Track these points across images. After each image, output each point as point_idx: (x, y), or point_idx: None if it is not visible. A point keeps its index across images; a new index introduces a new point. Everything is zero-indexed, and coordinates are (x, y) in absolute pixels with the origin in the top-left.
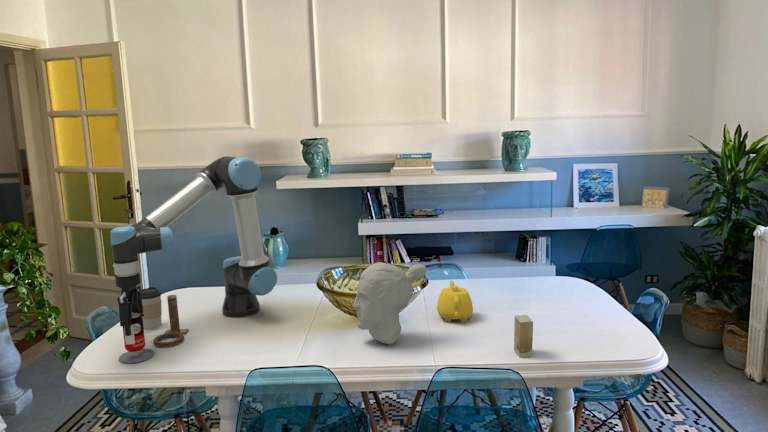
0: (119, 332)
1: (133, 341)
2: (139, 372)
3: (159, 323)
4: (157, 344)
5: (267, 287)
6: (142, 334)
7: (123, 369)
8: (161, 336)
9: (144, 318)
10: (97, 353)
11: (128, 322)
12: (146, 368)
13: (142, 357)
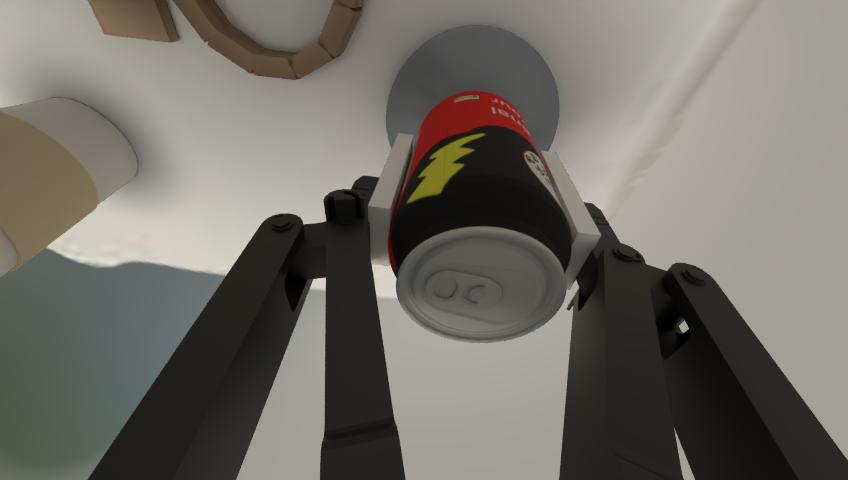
0: (201, 250)
1: (560, 163)
2: (712, 51)
3: (57, 106)
4: (347, 35)
5: None
6: (503, 124)
7: (607, 150)
8: (232, 38)
9: (90, 192)
10: (393, 272)
11: (697, 289)
12: (674, 19)
13: (514, 86)
